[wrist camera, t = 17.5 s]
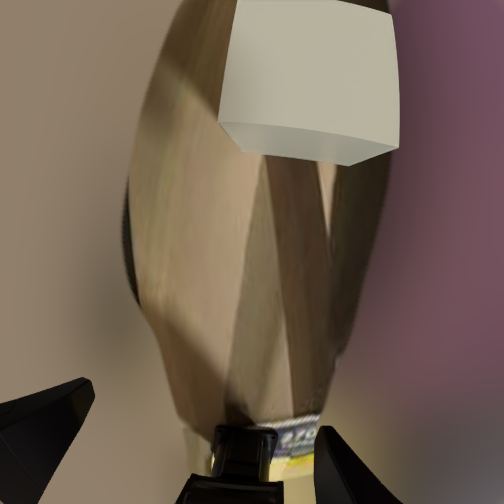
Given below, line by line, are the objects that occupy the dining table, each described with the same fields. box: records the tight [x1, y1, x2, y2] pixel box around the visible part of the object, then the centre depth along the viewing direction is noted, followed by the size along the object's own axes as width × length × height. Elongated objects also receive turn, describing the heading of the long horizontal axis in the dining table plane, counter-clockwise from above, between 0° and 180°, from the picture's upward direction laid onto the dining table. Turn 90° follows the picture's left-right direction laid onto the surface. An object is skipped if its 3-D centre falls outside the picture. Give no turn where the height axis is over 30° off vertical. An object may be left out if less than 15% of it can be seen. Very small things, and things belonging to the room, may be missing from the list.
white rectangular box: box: [218, 0, 399, 166], centre depth 14 cm, size 8×8×9 cm
